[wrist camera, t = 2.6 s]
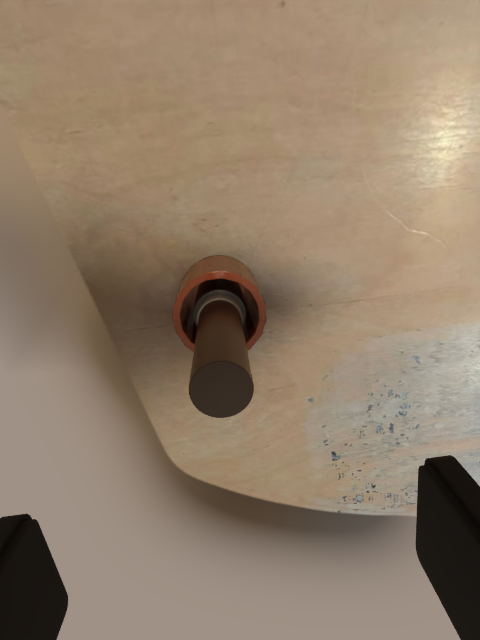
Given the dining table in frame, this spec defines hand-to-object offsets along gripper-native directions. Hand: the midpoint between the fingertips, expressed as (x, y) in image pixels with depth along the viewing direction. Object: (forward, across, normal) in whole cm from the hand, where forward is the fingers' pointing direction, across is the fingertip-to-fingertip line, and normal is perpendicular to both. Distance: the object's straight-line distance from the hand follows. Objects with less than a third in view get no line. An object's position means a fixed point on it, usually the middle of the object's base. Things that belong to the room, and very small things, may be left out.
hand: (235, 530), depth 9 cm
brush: (+22, 0, 0) cm, 22 cm away
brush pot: (+23, 0, 0) cm, 23 cm away
